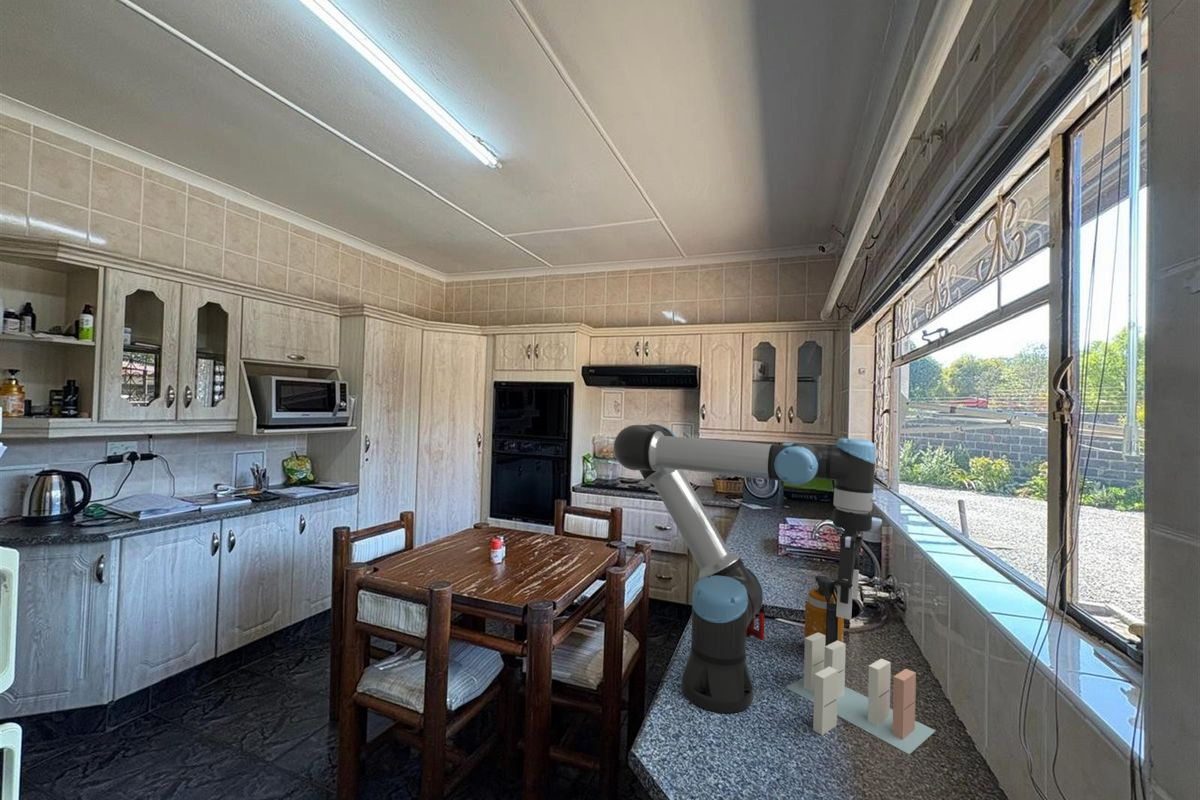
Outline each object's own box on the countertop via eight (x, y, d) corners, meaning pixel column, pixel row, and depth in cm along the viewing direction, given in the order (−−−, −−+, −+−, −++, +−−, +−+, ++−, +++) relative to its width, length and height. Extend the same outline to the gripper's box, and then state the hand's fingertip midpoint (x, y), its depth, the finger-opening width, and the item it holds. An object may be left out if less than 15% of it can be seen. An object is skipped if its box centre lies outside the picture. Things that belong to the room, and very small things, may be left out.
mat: (785, 688, 107) (785, 687, 107) (814, 673, 114) (814, 671, 114) (909, 755, 87) (909, 754, 87) (935, 732, 94) (935, 730, 94)
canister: (834, 649, 126) (836, 573, 127) (852, 671, 115) (854, 588, 116) (799, 646, 127) (801, 570, 128) (813, 668, 116) (816, 585, 117)
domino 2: (823, 698, 103) (824, 646, 104) (836, 690, 106) (837, 640, 107) (831, 702, 102) (832, 650, 102) (844, 694, 105) (845, 643, 105)
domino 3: (812, 731, 93) (814, 674, 93) (827, 721, 96) (829, 666, 96) (822, 737, 91) (823, 678, 91) (836, 727, 94) (838, 670, 94)
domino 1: (803, 687, 107) (804, 637, 107) (816, 680, 110) (817, 632, 111) (811, 691, 106) (812, 641, 106) (824, 684, 109) (825, 635, 109)
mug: (762, 645, 127) (763, 599, 127) (713, 629, 136) (715, 586, 136) (774, 633, 135) (775, 590, 135) (727, 618, 143) (728, 578, 144)
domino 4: (867, 721, 96) (868, 665, 96) (880, 712, 99) (881, 658, 99) (877, 726, 94) (878, 669, 95) (889, 717, 98) (890, 662, 98)
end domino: (892, 734, 92) (893, 676, 92) (904, 724, 95) (905, 668, 96) (902, 739, 91) (904, 680, 91) (914, 729, 94) (916, 672, 94)
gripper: (867, 522, 92) (861, 633, 92) (876, 504, 113) (871, 594, 113) (825, 515, 96) (819, 621, 96) (840, 499, 117) (835, 586, 117)
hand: (847, 607), depth 104 cm, fingers open, 13 cm apart
